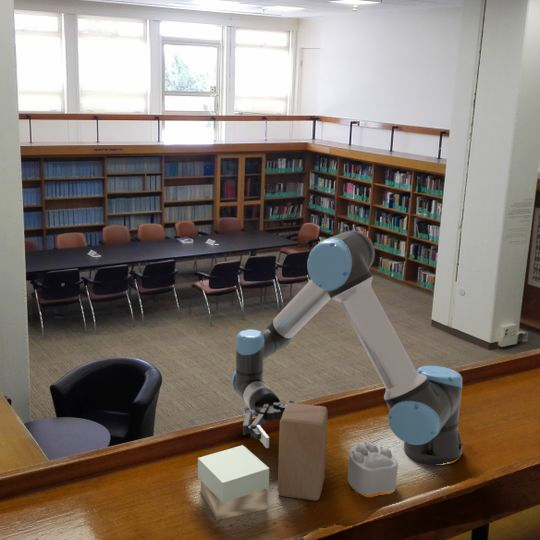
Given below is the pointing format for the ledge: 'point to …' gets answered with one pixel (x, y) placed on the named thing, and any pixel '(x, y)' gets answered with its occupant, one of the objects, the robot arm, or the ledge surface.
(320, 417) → the block
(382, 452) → the lumpy-topped squat cylinder
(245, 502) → the tower bottom
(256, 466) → the tower top
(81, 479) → the ledge surface
